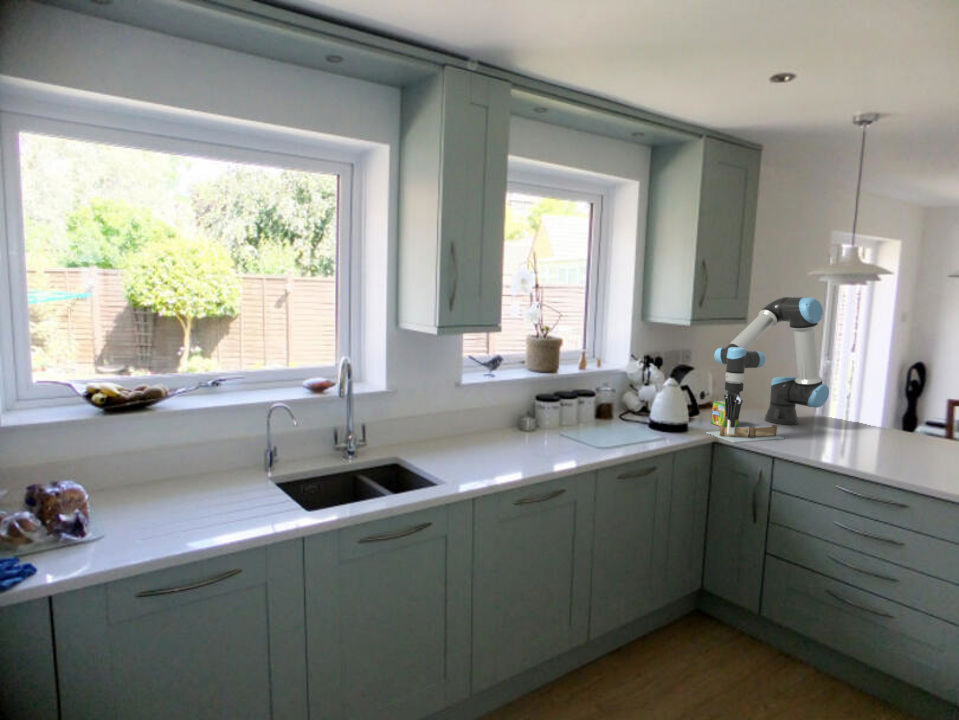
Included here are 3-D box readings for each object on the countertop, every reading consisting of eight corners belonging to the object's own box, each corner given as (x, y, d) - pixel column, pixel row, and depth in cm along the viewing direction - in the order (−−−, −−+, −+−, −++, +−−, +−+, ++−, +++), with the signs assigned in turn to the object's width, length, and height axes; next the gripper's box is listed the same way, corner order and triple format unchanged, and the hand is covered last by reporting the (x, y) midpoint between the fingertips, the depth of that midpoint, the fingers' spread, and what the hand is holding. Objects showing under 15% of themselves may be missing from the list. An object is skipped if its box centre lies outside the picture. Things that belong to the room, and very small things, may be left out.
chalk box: (710, 423, 291) (712, 394, 289) (725, 422, 294) (727, 393, 292) (723, 428, 282) (725, 397, 281) (739, 427, 285) (741, 397, 284)
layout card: (705, 432, 272) (705, 431, 272) (754, 429, 281) (754, 428, 280) (733, 442, 255) (733, 441, 255) (784, 438, 263) (784, 437, 263)
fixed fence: (747, 436, 264) (747, 426, 264) (773, 434, 269) (774, 424, 268) (751, 437, 262) (751, 427, 262) (777, 435, 267) (778, 426, 266)
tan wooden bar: (746, 435, 265) (747, 426, 264) (747, 436, 263) (748, 427, 262) (719, 434, 266) (719, 425, 265) (720, 435, 264) (721, 426, 263)
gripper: (719, 379, 266) (716, 430, 269) (732, 384, 253) (729, 437, 256) (735, 379, 267) (732, 430, 269) (749, 384, 254) (745, 437, 256)
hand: (730, 433), depth 263 cm, fingers closed
